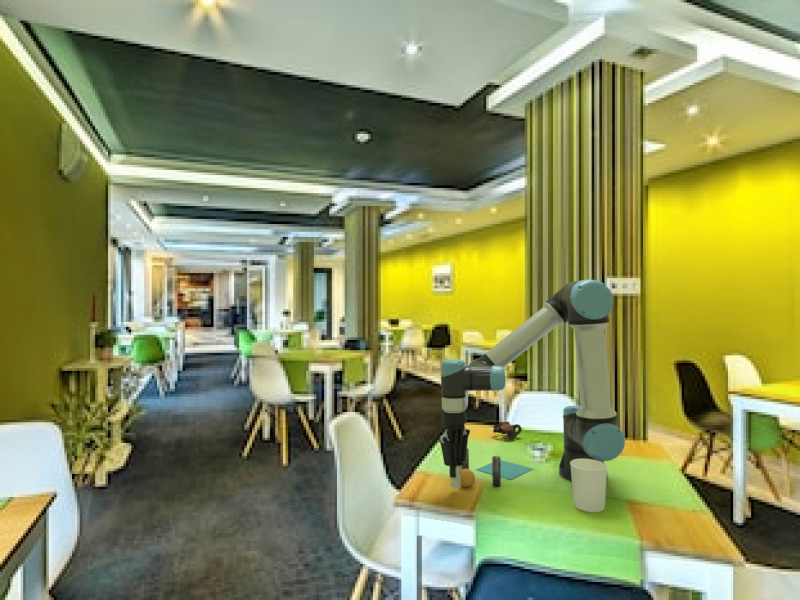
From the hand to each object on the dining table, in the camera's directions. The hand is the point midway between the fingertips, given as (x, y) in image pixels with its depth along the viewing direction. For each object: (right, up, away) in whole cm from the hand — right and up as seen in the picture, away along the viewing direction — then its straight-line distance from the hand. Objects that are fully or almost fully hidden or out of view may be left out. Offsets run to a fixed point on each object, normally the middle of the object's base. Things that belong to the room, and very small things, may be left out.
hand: (455, 486), depth 148 cm
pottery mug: (+29, -2, +57) cm, 63 cm away
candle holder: (+37, -1, -11) cm, 38 cm away
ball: (+4, +1, +4) cm, 6 cm away
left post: (+5, -2, +14) cm, 15 cm away
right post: (+14, -2, +5) cm, 15 cm away
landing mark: (+19, -1, +19) cm, 27 cm away
